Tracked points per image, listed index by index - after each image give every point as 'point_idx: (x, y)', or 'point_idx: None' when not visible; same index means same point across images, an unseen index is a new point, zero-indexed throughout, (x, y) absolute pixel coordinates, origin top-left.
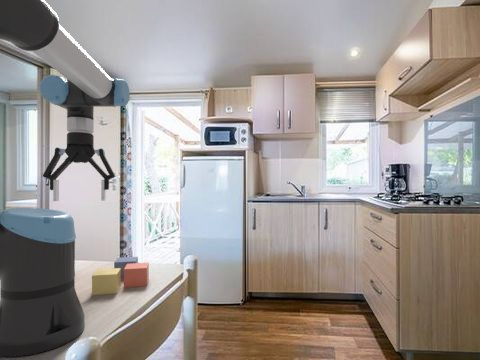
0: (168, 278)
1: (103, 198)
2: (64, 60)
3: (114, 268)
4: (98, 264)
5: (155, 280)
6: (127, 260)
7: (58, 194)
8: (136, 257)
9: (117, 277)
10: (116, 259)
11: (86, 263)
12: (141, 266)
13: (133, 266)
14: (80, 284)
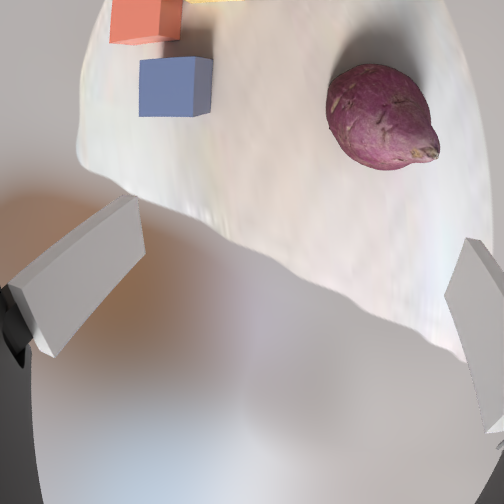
0: (97, 48)
1: (116, 200)
2: None
3: None
4: (278, 229)
5: None
6: (161, 73)
7: (460, 321)
8: (141, 106)
9: None
10: (193, 92)
11: (313, 253)
12: (124, 6)
13: (141, 6)
14: (294, 32)
